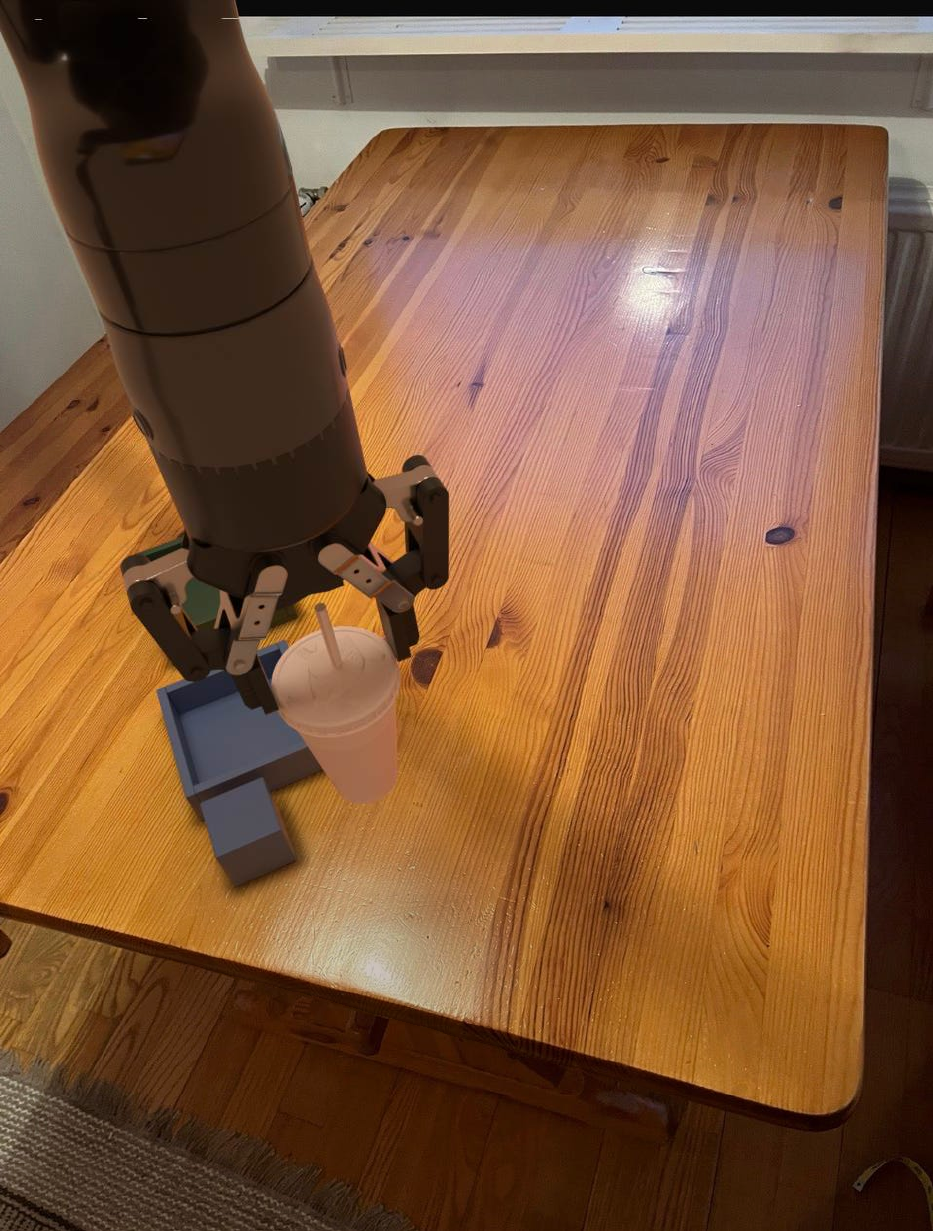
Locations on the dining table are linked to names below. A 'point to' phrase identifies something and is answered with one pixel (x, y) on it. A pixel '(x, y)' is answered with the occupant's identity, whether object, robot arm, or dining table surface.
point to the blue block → (247, 832)
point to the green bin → (207, 594)
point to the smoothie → (343, 705)
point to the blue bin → (230, 736)
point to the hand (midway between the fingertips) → (333, 673)
